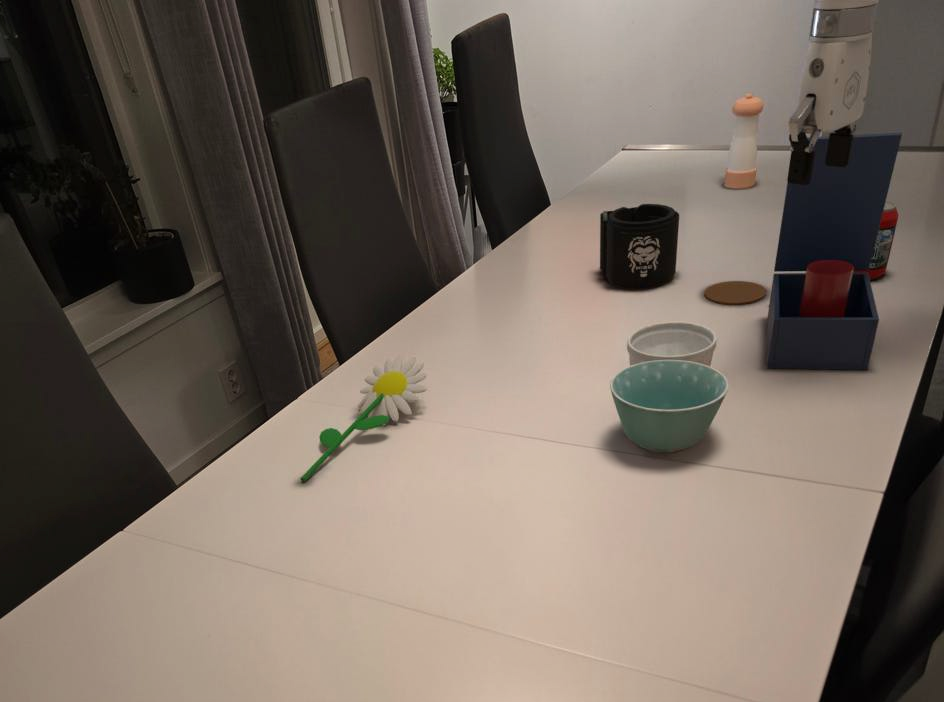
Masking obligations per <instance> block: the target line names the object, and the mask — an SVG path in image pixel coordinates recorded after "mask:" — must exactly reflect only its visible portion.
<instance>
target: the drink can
mask: <svg viewBox="0 0 944 702" xmlns="http://www.w3.org/2000/svg"><path fill="white" fill-rule="evenodd" d="M853 270H854V266H853V265H852V264H850V263H848V262H845V261H840V260H821V261H816V262H813V263H810V264H809V265H808V266H807V270H806V271H805V273H806V276H805V282H804V288H803V294H802V300H801V305H800V311H799V317H844V314H845V309H846V304H847V299H848V295H849V290H850V285H851V280H852V275H853Z"/></svg>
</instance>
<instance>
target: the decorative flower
mask: <svg viewBox="0 0 944 702" xmlns="http://www.w3.org/2000/svg"><path fill="white" fill-rule="evenodd" d="M416 361H417V357H416V356H415V357H412V358H410V359H408V360H407V361H406V362H405V363H404V364H403V357H401V356H400V355H399V356H397V357H396V358H395V359H394V361H393V363H392V361H391V359H390V358H387V359H386V360H385V361H384V364H383V368H382V367H381V366H379V365H374V367H373V368H372V371H373V374H374V375H367V376H366V377H364V382H365V383H366V384H367V386H365V387H362V388H361V389H360V390H359V393H360V394H362V395H364V396H363V397H362V398H361V400H360V402H359V403H358V408H359V409H360V410H359V413H358V417H357V418H356V419H355V420H354V421H353V422H352V423H351V425H350V426H349V427H348V428H347V429H346V430H344V432H343V433H341V432H340V431H339V429H336V428H333V427H329V428H325V429H324V430H322V431H321V432H320V434H319V442H320V443H321V445H323V446H324V447H326V448H328V449H327V450H326V451H325V452H323V454H322V455H321V456H320V457H319V458H318V459H317V460H316V461H315V462H314V463H313V464H312V465H311V467H310V468H309V469H308V470H306V472H305V473H304V474H302V476H301V477H300V481H301V482H302V483H305V482H306V481H307V480H308V479H309V478H310V477H311V476H312V475H313V474H314V473H315V472H316V471H317V470H318V469H319V468H320V466H321V465H323V463H324V462H326V460H327V459H328V458H329V457H330V456H331V455H332V454H333V453H334V452H335V451H336V449H338V447H340V445H341V444H342V443H343V442H344V441H345V440H346V439H347V438H348V437H349V436H350V435H351V434H352V433H353V431H354V430H358V431H368V430H372V429H375V428H379V427H382V426H383V427H385V426H386V425H387V423H388V422H389V421H390V419H391V420H392V421H394V422H395V423H396V422H397V423H398V421H399V418H400V417H399V416H400V415H399V411H401V413H403V414H405V415H407V416H411V415H412V413H413V412H412V411H413V410H412V408H411V406H410V405H409V403H416V402H418V401H420V397H419V396H418V395H417V394H420V393H425V392H426V391H428V388H427V387H426V386H424V385H422V384H418V383H420V382H423V381H424V380H425V379H426V378H427V377H428V374H426V373H420V372H421V371H422V369H423V368H424V367H425V363H424V362H421V363H418V364H416V365H415V363H416ZM408 402H409V403H408Z"/></svg>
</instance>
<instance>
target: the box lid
mask: <svg viewBox="0 0 944 702" xmlns="http://www.w3.org/2000/svg"><path fill="white" fill-rule="evenodd" d="M829 136H830V135H828V136H827V135H826V136H819V137H818V139H817V141H816V143H815V145H814V148H813V150H812V151H815V158H814V164H813V170H812V176H811V182H810V184H808V185H799V184H792V183H788V182H787V183H786V189H785V195H784V203H783V209H782V216H781V224H780V228H779V236H778V242H777V249H776V253H775V254H776V255H775V261H774V267H773V268H774V269H773V271H774V272H776V273H777V272H780V273H782V272H784V273H786V272H806V270H807V266H808V265H809V264H810V263H813V262H816V261H821V260H840V261H845V262H848V263H850V264H852V265H853V266H854V270H853V271H868V270H869V268H870V263H871V259H872V255H873V251H874V247H875V243H876V239H877V235H878V231H879V227H880V223H881V218H882V214H883V210H884V206H885V202H886V201H887V197H888V193H889V189H890V186H891V182H892V177H893V173H894V169H895V165H896V160H897V157H898V152H899V148H900V144H901V140H902V136H903V133H902V132H889V133H888V132H887V133H867V134H866V133H865V134H853V140H852V145H851V151H850V156H849V161H848V165H847V166H846V167H834V166H826V165H825V160H826V154H827V148H828V142H829ZM807 138H808V140H809V138H810V136H807Z"/></svg>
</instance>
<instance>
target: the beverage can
mask: <svg viewBox="0 0 944 702" xmlns="http://www.w3.org/2000/svg"><path fill="white" fill-rule="evenodd" d="M898 221H899V213H898V209H897V204H896V203H895V202H892V201H889V200H886V202H885V206H884V210H883V214H882V218H881V223H880V227H879V231H878V235H877V239H876V243H875V247H874V251H873V255H872V259H871V263H870V268H869V270H868V271H853V273H863V272H868V275H869V279H870V281H871V280H876V279H877V278H879V277H881V276H882V275H884V274H885V273H886V272H887V267H888V264H889V261H890V255H891V252H892V251H891V250H892V247H893V242H894V238H895V233H896V228H897V225H898Z"/></svg>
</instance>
